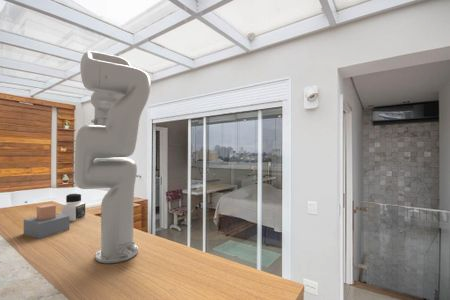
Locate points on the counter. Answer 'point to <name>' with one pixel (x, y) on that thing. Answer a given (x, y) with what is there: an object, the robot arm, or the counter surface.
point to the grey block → (46, 226)
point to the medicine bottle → (73, 207)
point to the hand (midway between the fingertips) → (103, 161)
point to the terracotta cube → (46, 211)
